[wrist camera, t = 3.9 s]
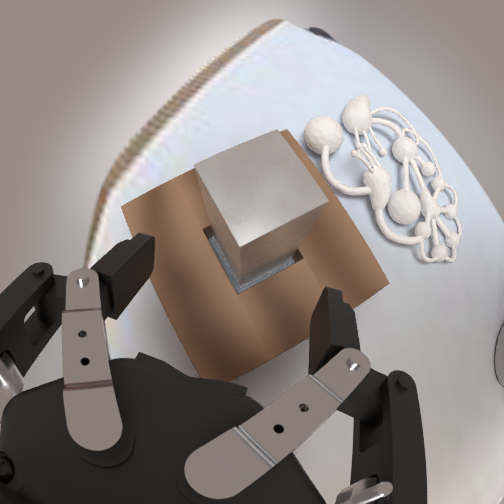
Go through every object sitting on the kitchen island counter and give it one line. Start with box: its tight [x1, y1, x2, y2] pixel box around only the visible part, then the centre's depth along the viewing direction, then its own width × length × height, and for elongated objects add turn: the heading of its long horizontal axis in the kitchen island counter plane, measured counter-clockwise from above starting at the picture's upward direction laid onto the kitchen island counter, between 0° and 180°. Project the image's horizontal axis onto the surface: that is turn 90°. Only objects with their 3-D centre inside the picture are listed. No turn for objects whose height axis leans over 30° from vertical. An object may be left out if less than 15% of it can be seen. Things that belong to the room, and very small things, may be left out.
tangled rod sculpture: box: [304, 95, 462, 262], centre depth 25 cm, size 19×14×4 cm
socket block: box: [121, 129, 389, 382], centre depth 23 cm, size 16×16×2 cm
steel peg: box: [194, 130, 329, 288], centre depth 18 cm, size 4×4×12 cm
